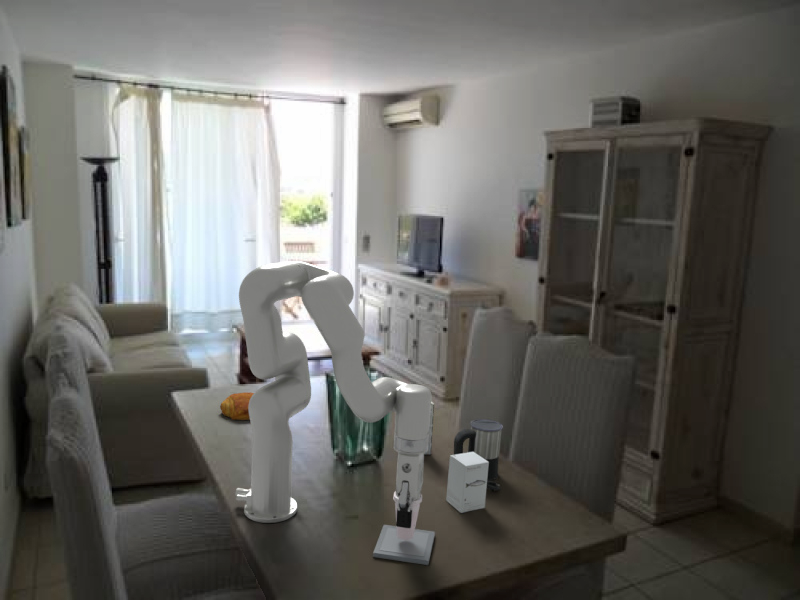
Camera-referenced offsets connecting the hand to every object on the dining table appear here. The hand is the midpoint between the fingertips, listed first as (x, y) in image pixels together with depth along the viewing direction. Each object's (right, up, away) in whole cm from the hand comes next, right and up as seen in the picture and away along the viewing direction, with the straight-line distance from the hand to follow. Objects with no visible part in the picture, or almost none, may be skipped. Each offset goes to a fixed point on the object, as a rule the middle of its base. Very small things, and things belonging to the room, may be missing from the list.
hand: (406, 518), depth 140 cm
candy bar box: (+4, +2, +56) cm, 56 cm away
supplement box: (+15, -4, +22) cm, 27 cm away
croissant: (-55, +9, +77) cm, 95 cm away
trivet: (0, -7, +1) cm, 7 cm away
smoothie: (0, -4, +1) cm, 4 cm away
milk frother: (+22, -2, +36) cm, 42 cm away
